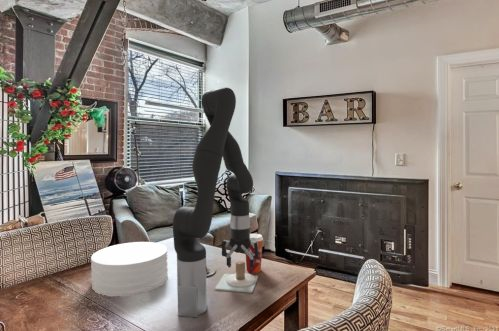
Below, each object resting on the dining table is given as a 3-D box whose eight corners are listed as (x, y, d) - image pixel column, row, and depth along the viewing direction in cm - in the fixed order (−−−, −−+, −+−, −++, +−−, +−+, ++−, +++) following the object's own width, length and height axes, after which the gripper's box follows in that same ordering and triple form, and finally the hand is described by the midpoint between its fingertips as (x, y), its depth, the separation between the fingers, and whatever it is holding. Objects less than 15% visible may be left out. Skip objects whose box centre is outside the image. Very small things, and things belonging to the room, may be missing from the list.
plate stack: (75, 287, 121) (74, 257, 120) (133, 263, 146) (133, 238, 145) (127, 303, 108) (126, 270, 107) (182, 274, 132) (181, 247, 132)
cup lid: (252, 288, 117) (251, 269, 117) (223, 285, 119) (222, 267, 119) (256, 276, 128) (256, 259, 128) (230, 274, 130) (229, 257, 130)
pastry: (184, 270, 138) (184, 259, 137) (212, 266, 142) (211, 256, 142) (189, 281, 126) (189, 269, 126) (219, 276, 131) (218, 265, 130)
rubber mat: (252, 292, 115) (252, 291, 115) (214, 289, 117) (214, 288, 117) (258, 277, 129) (258, 275, 129) (224, 275, 131) (224, 273, 131)
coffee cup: (263, 274, 132) (263, 238, 131) (243, 274, 132) (243, 238, 131) (263, 266, 140) (263, 232, 139) (244, 266, 140) (244, 232, 139)
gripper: (219, 227, 120) (220, 270, 121) (256, 229, 118) (257, 272, 119) (224, 223, 128) (225, 263, 128) (259, 224, 125) (260, 265, 126)
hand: (240, 267), depth 123 cm, fingers open, 8 cm apart
